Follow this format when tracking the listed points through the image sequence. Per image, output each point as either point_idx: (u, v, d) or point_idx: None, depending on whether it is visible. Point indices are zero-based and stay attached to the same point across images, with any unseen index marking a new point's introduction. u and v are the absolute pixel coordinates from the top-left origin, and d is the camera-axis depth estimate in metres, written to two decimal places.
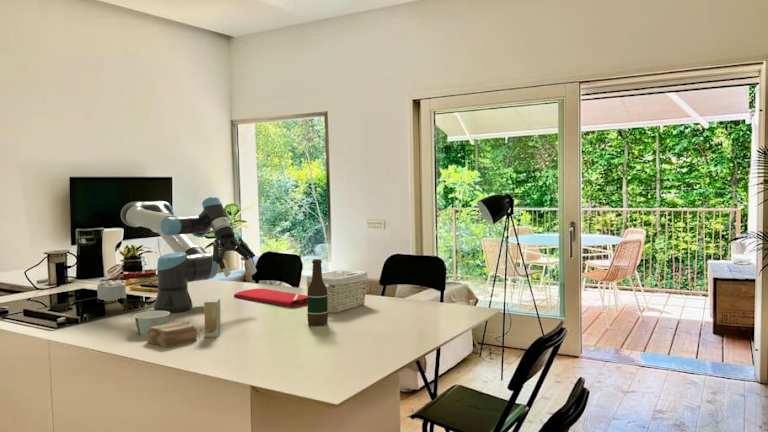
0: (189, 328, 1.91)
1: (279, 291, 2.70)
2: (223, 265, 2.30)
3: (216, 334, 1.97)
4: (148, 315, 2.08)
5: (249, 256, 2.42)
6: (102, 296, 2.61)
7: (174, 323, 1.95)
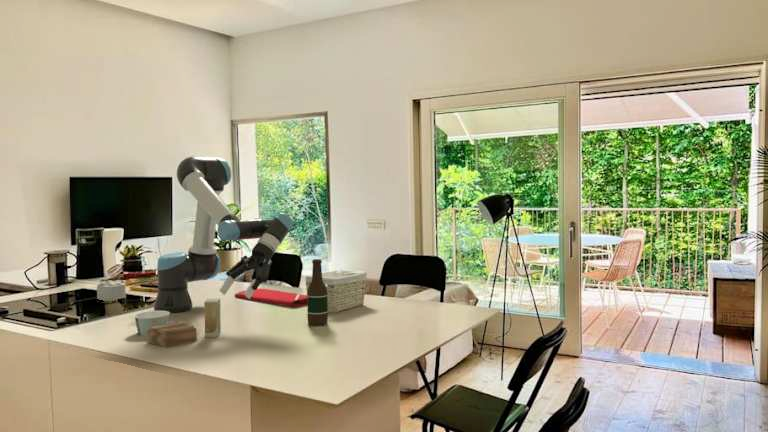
0: (189, 328, 1.91)
1: (280, 291, 2.70)
2: None
3: (216, 334, 1.97)
4: (148, 315, 2.08)
5: (234, 278, 2.14)
6: (101, 296, 2.61)
7: (174, 323, 1.95)
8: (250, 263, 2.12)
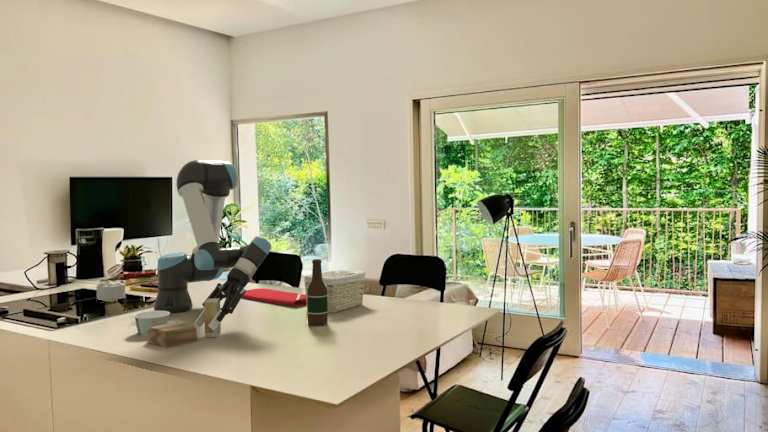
0: (189, 328, 1.91)
1: (281, 291, 2.70)
2: None
3: (216, 334, 1.97)
4: (148, 315, 2.08)
5: None
6: (101, 296, 2.60)
7: (174, 323, 1.95)
8: (225, 289, 2.04)
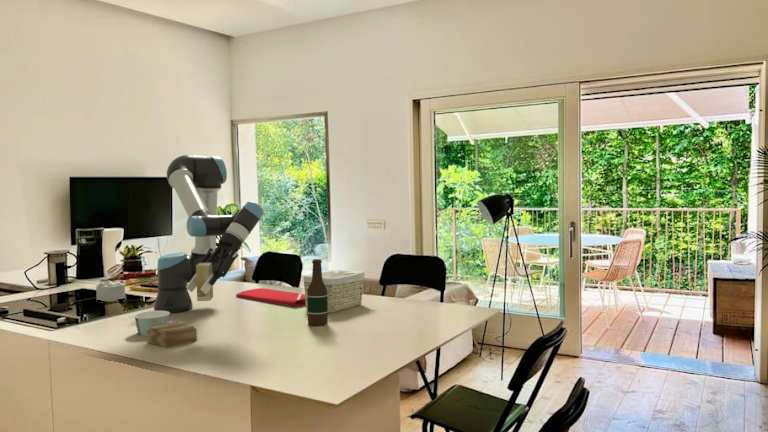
0: (189, 328, 1.91)
1: (281, 291, 2.70)
2: None
3: (208, 298, 1.94)
4: (148, 315, 2.08)
5: None
6: (101, 296, 2.60)
7: (174, 323, 1.95)
8: (217, 254, 2.02)
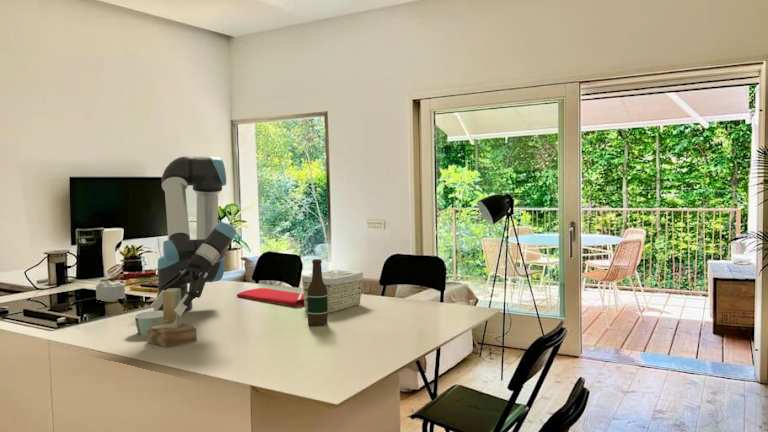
0: (189, 328, 1.91)
1: (282, 291, 2.70)
2: None
3: (175, 325, 1.88)
4: (148, 315, 2.08)
5: None
6: (101, 297, 2.60)
7: None
8: (185, 276, 1.96)
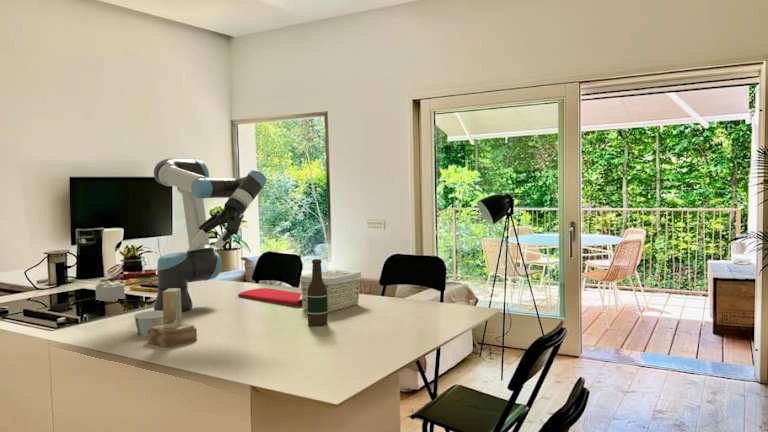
0: (189, 328, 1.91)
1: None
2: None
3: (175, 325, 1.88)
4: (148, 315, 2.08)
5: (207, 232, 2.17)
6: (101, 297, 2.59)
7: None
8: (222, 217, 2.15)
